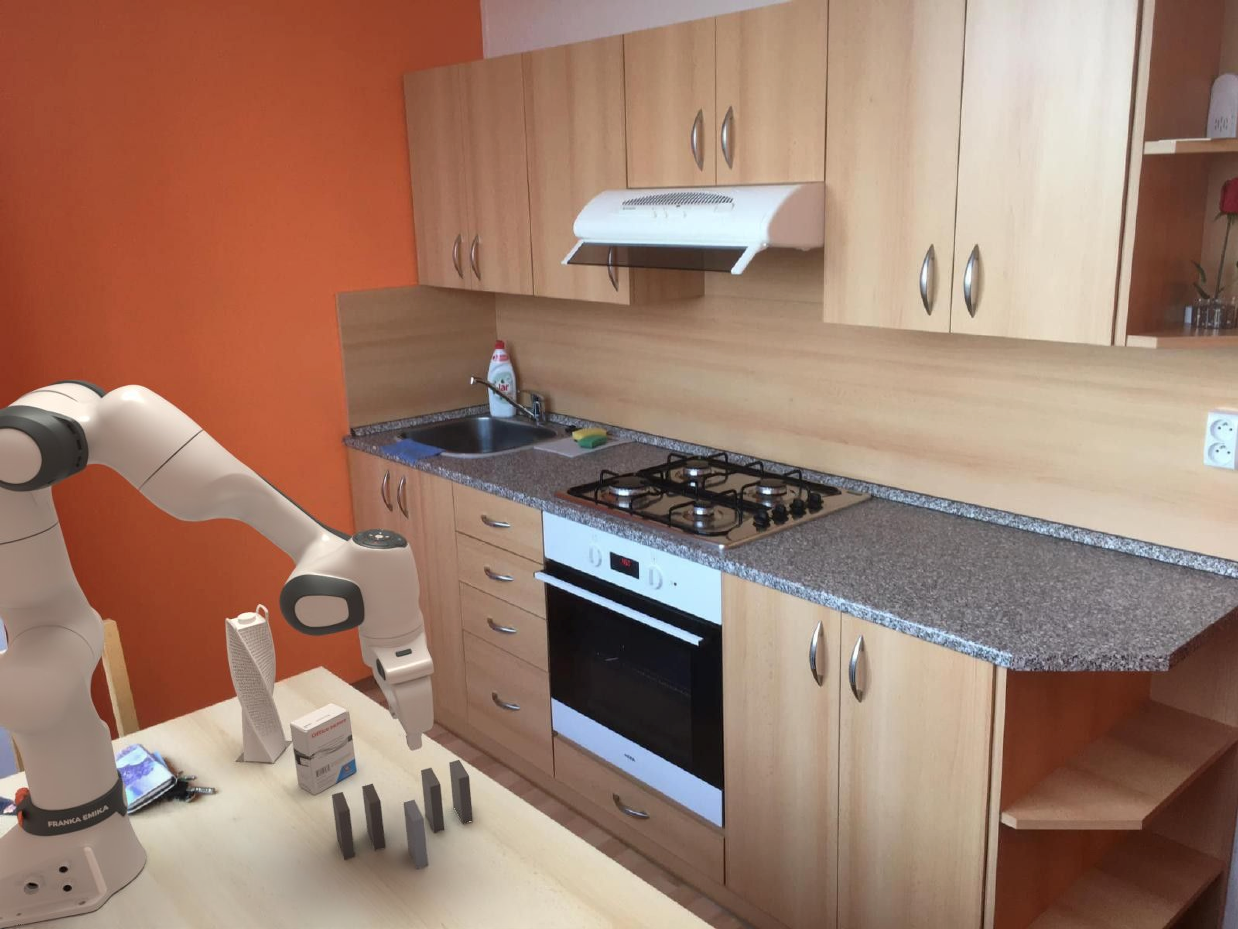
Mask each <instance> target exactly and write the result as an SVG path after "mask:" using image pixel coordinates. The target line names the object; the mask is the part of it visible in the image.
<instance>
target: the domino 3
mask: <svg viewBox="0 0 1238 929" xmlns="http://www.w3.org/2000/svg"><path fill="white" fill-rule="evenodd" d="M403 809H404V810H403V811H404V819H405V829H406V830H405V832H406V841H407V848H408V852H409V854H410V857H411V859H412V861H413V863H414V865H415V867H416V869H417V870H419V869H422V868H425V867H428V866H429V862H428V851H427V842H426V830H425V820H424V819H425V818H424V816H423V814H422V812H421V810H420V808H419V807H418V804H417V802H416V800H415V799H411V800H408V801H405V802H404V801H403Z"/></svg>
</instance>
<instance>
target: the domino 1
mask: <svg viewBox="0 0 1238 929" xmlns="http://www.w3.org/2000/svg"><path fill="white" fill-rule="evenodd" d="M331 800H332V808H333V816H334V817H333V818H334V824H335V832H336V838H337V839H336V840H337V841H336V842H337V843H338V847H339V849H340V853H341V855H342V858H343V861H346V860H349V859H353V858H356V854H355V853H356V852H355V844H354V835H353V828H352V819H351V818H352V817H351V810H350V807H349V805H348V801H347V799H346V797H345V794H344V792H343V791H340V792H337V793H333V794H331Z"/></svg>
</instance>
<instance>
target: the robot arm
mask: <svg viewBox="0 0 1238 929" xmlns="http://www.w3.org/2000/svg"><path fill="white" fill-rule="evenodd" d="M94 464H95V465H96V464H97V465H103V466H106V467H109V468H110V469H112V470H113V471H116V473H118V474H119V475H120V476H122V477H123V478H124V479H125V480H126V481H128V483H129V484H130V485H132V486H133V487H134V488H135V489H136V490H138V492H139V493H140V494H142V495H143V496H144V497H145V498H146V499H147V500H148V501H149V502H151V503H152V504H153V505H154V506H156V507H157V508H158V509H160V510H161V511H163V512H164V513H166V514H168V515H170V516H172V517H174V518H176V519H177V520H180V521H185V522H204V521H209V520H215V519H216V520H217V519H230V520H231V519H232V520H236V521H239V522H243V523H245V524H247V525H249V526H250V527H252V528H253V529H254V530H255V531H257V532H259V534H261V535H262V536H264V537H265V538H266V539H268V540H269V541H271V543H273V544H274V545H275V546H277V547H278V548H279V549H281V550H282V551H283V552H284V553H286V554H287V555H288V556H289V557H290V558H291V559H292V561H293V563H294V565H295V568H294V569H293V570H292V572H291V574H290V575H289V577H288V578H287V580H286V582H285V583H284V586H283V587H282V589H281V591H280V593H279V597H278V598H279V600H278V601H279V605H278V606H279V609H280V613H281V615H282V616H283V618H284V620H285V621H286V623H287V624H288V625H289V626H290V627H292V628H293V629H294V630H296V631H297V632H299V633H301V634H303V635H307V636H311V637H313V636H314V637H321V636H327V635H333V634H337V633H341V632H345V631H349V630H352V629H355V628H357V629H358V637H359V644H360V649H361V656H362V661H363V663H364V665H366V666H367V667H369V668H371V669H372V674H373V677H374V679H375V681H376V683H377V684H378V686H379V688H380V689H381V691H382V693H383V695H384V697H385V698H386V701H387V704H388V709H389V714H390V716H391V717H392V719H394V720H398V722H399V723H400V725H401V727H402V728H403V730H404V733H405V734H406V735H405V740H406V745H407V746H408V749H409V750H410V751H412V752H413V751H416V750H419V749H422V747H423V740H422V736H423V733H425V732H429V731H431V729H432V728H433V725H434V720H435V718H434V717H435V716H434V701H433V700H434V699H433V688H432V680H431V679H432V678H431V676H430V675H431V674H433V673H434V672H435V670H434V663H433V658H432V656H431V653H430V650H429V647H428V640H427V639H428V638H427V635H426V629H425V628H426V627H425V620H424V615H423V612H422V610H421V608H420V605H419V599H420V593H421V592H420V591H421V590H420V589H421V588H420V582H419V576H418V569H417V564H416V560H415V556H414V553H413V550H412V547H411V545H410V543H409V542H408V540H407V538H405V537H404V536H403V535H402V534H400V533H398V532H395V531H393V530H390V529H385V528H370V529H365V530H361V531H358V532H355V533H354V534H353V535H350V534H348V533H346V532H343V531H341V530H340V531H339V530H338V529H336V528H332V527H331V526H328V525H327V524H325V523H323V522H322V521H320V520H319V519H318V518H316V517H315V516H313V515H312V514H311V513H309V511H307V510H306V509H305V508H304V507H302V506H301V505H299V504H298V503H297V502H296V501H294V500H293V499H292V498H291V497H290V496H288V495H287V494H286V493H285V492H283V491H282V490H281V489H279V488H278V487H277V486H276V485H274V484H273V483H272V482H270V481H269V480H268V479H267V478H265V477H263V475H261V474H260V473H257V472H256V471H255V470H253V469H252V468H251V467H249V466H247V465H246V464H244V463H243V462H242V461H240V460H239V459H238V458H237V457H235V456H234V455H233V454H232V453H230V452H229V451H228V450H227V449H226V448H225V447H224V446H222V445H221V444H220V443H219V442H218V441H217V440H215V438H214V437H212V436H211V435H210V434H209V433H208V432H207V431H205V430H204V429H203V428H202V427H201V426H200V425H199V424H198V423H197V422H195V421H194V420H193V419H192V418H191V417H189V416H188V415H187V414H186V413H184V412H183V411H182V410H180V408H178V407H177V406H175V405H174V404H172V403H171V402H170V401H168V400H166V399H165V398H164V397H162V396H161V395H160V394H158V393H155V392H154V391H153V390H151V389H149V388H148V387H145V386H143V385H138V384H128V385H124V386H120V387H118V388H116V389H113V390H111V391H110V392H107V391H106V390H105V389H103V388H102V387H100V386H99V385H97V384H94V383H92V382H89V381H86V380H80V379H68V380H67V379H66V380H59V381H56V382H53V383H50V384H49V385H47V386H44V387H41V388H40V387H39V388H37V389H35V390H33V391H29V392H28V393H25V394H24V395H21V396H20V397H19V398H18V399H17V400H15V401H14V402H12V403H11V404H9V405H8V406H5V407H4V408H1V409H0V619H1V621H2V622H3V625H4V627H5V629H6V632H7V637H8V643H7V649H6V650H5V652H4V653H3V655H2V656H1V657H0V727H1V728H3V729H5V730H7V731H8V732H9V733H10V736H11V737H12V739H13V740H14V743H15V745H16V747H17V749H18V751H19V754H20V757H21V761H22V766H23V770H24V774H25V778H26V784H27V787H24V786H23V787H21V788H18V789H17V790H16V792H15V794H14V795H15V796H14V803H15V805H16V808H15V813H16V819H17V823H16V824H15V825H14V826H13V827H12V828H11V829H10V830H8V831H7V833H5V834H4V835H3V836H2V837H0V929H3V928H9V927H15V925H16V926H19V925H20V924H21V925H25V924H32V923H36V922H37V923H39V922H41V921H47V920H53V919H59V918H63V917H69V916H74V915H75V916H76V915H81V914H86V913H91V912H94V911H96V910H98V909H100V908H101V907H102V906H103V905H104V903H106V902H107V901H108V899H109V898H110V897H111V896H112V895H113V894H114V893H116V892H117V891H119V890H121V889H122V888H123V887H125V886H126V885H127V884H129V883H130V882H132V881H133V880H134V879H135V878H136V877H137V876H138V875H139V873H141V871H142V869H143V867H144V866H145V864H146V860H147V852H146V849H145V848H144V846H143V845H142V844H141V842H140V840H139V838H138V837H137V834H136V832H135V830H134V828H133V824H132V822H131V820H130V817H129V814H128V805H129V803H128V798H127V796H128V795H127V790H126V786H125V782H124V780H123V776H122V773H121V772H120V770H119V769H117V763H116V762H117V761H116V758H115V753H114V748H113V747H114V746H113V741H112V737H111V730H110V728H109V726H108V723H107V722H105V721H104V720H102V719H101V718H100V716H99V714H98V712H97V710H96V707H95V705H94V702H93V699H92V694H91V693H92V692H91V686H92V685H91V684H92V677H93V674H94V671H95V670H96V667H97V666H98V664H99V661H100V659H101V657H102V655H103V653H104V649H105V637H106V636H105V634H106V633H105V632H106V631H105V625H104V621H103V619H102V616H101V615H100V614H99V613H98V611H96V609H94V608H93V607H92V606H91V605H90V603H89V601H88V598H87V596H86V595H85V594H84V591H83V589H82V588H81V586H80V584H79V582H78V580H77V577H76V575H75V572H74V570H73V566H72V564H71V560H70V557H69V553H68V549H67V546H66V542H65V538H64V535H63V531H62V528H61V525H60V521H59V517H58V513H57V509H56V507H55V503H54V499H53V494H52V487H53V486H54V485H56V484H59V483H60V482H62V481H64V480H66V479H68V478H71V477H72V476H74V475H77V474H79V473H82V472H83V471H84V470H85V469H87V466H88V465H94ZM18 924H19V925H18ZM21 925H20V926H21Z"/></svg>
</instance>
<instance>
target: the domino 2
mask: <svg viewBox="0 0 1238 929" xmlns="http://www.w3.org/2000/svg"><path fill="white" fill-rule="evenodd" d="M361 788H362V797H363V798H362V799H363V805H364V806H363V807H364V814H365V823H366V831H367V832H366V833H367V834H368V837H369V840H370V842H371V845H372V847H373V849H374V851H375V852H376V851H379V850H382V849H386V840H385V839H386V837H385V832H384V831H385V830H384V822H383V812H382V803H381V801H382V800H381V799H380V796H379V794H378V793H377V790H376V787H375V785H374V783H369V784H365V785H363V786H361Z"/></svg>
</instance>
